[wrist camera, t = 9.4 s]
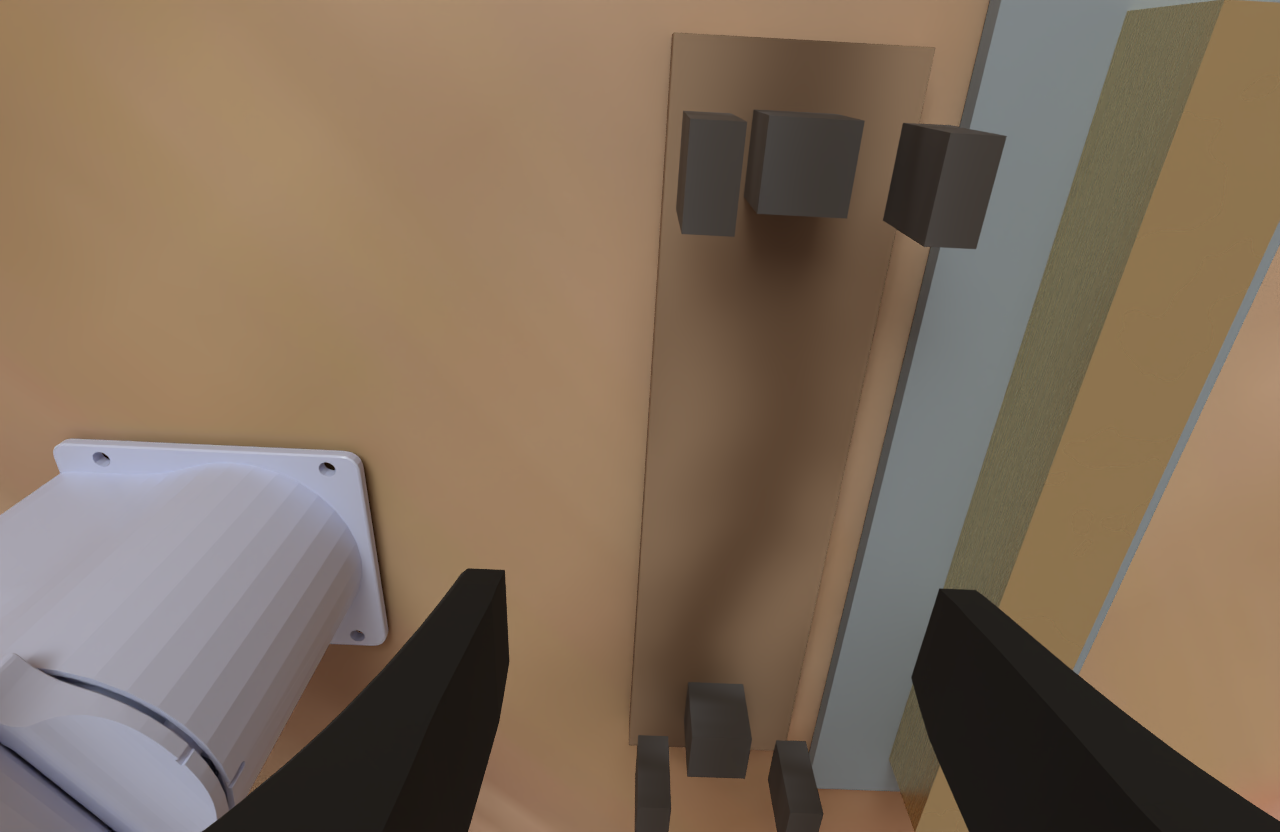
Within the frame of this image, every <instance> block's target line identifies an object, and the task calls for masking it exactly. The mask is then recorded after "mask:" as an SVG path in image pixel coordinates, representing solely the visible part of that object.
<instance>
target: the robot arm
mask: <svg viewBox="0 0 1280 832" xmlns="http://www.w3.org/2000/svg"><path fill="white" fill-rule="evenodd" d="M102 453H104V454H105V455H107V456H108V457H109V459H110V460H109V459H107V458H106V457H104V456H103V454H102ZM53 454H54V458H55V461H56V463H57V466H58V468H59V471H60V474H59V475H57V476H56V477H54V478H53V479H51V480H50V481H48V482H47V483H46V484H44V485H43V486H41V487H40V488H38V489H37V490H36V491H34V492H33V493H31V494H30V495H28V496H27V497H26V498H24V499H23V500H21V501H20V502H18V503H17V504H15V505H14V506H13V507H11V508H10V509H8V510H7V511H5V512H4V513H3V514H1V515H0V832H468V830H469V826H470V823H471V819H472V816H473V812H474V809H475V805H476V802H477V798H478V795H479V791H480V788H481V784H482V781H483V777H484V774H485V770H486V767H487V763H488V760H489V756H490V753H491V749H492V745H493V742H494V738H495V735H496V731H497V727H498V724H499V719H500V714H501V708H502V702H503V697H504V691H505V685H506V678H507V672H508V666H509V646H508V626H507V605H506V585H505V570H490V569H467V570H465V571H464V572H463V573H462V574H461V575H460V576H459V578H458V579H457V580H456V582H455V583H454V584H453V586H452V587H451V588H450V590H449V591H448V592H447V594H446V595H445V596H444V597H443V599H442V600H441V601H440V603H439V604H438V605H437V606H436V608H435V609H434V610H433V611H432V613H431V614H430V615H429V616H428V618H427V619H426V620H425V621H424V622H423V624H422V625H421V626H420V627H419V629H418V630H417V631H416V632H415V633H414V634H413V636H412V637H411V638H410V639H409V640H408V641H407V642H406V644H405V645H404V646H403V647H402V648H401V649H400V651H399V652H398V653H397V654H396V655H395V656H394V657H393V659H392V660H391V661H390V662H389V663H388V664H387V665H386V666H385V668H384V669H383V670H382V671H381V672H380V673H379V674H378V675H377V676H376V677H375V678H374V679H373V680H372V681H371V682H370V683H369V684H368V685H367V687H366V688H365V689H364V690H363V691H362V692H361V693H360V694H359V695H358V696H357V697H356V698H355V699H354V700H353V701H352V702H351V703H350V704H349V705H348V706H347V707H346V708H345V709H344V710H343V711H342V712H341V713H340V714H339V715H338V716H337V717H336V718H335V719H334V720H333V721H332V722H331V723H330V724H329V725H328V726H327V727H326V728H325V729H324V730H323V731H322V732H321V733H319V734H318V735H317V736H316V737H315V738H314V739H313V740H312V741H311V742H310V743H309V744H307V745H306V746H305V747H304V748H303V749H302V750H301V751H300V752H299V753H297V754H296V755H295V756H294V757H293V758H292V759H291V760H290V761H289V762H287V763H286V764H285V765H284V766H283V767H282V768H280V769H279V770H278V771H277V772H276V773H274V774H273V775H272V776H271V777H270V778H268V779H267V780H266V781H265V782H264V783H262V784H261V785H260V786H259V787H258V788H256V789H255V790H254V791H253V792H251V793H250V794H249V795H248V793H249V791H250V789H251V788H252V786H253V784H254V782H255V780H256V778H257V776H258V775H259V773H260V771H261V769H262V767H263V765H264V764H265V762H266V760H267V758H268V756H269V754H270V753H271V751H272V749H273V747H274V745H275V743H276V742H277V740H278V738H279V736H280V734H281V732H282V731H283V729H284V727H285V725H286V723H287V721H288V720H289V718H290V716H291V714H292V712H293V710H294V708H295V707H296V705H297V703H298V701H299V699H300V697H301V696H302V694H303V692H304V690H305V688H306V686H307V685H308V683H309V681H310V679H311V677H312V675H313V674H314V672H315V670H316V668H317V666H318V664H319V663H320V661H321V659H322V657H323V655H324V653H325V651H326V650H327V648H328V646H329V644H344V645H369V646H375V645H380V644H382V643H383V642H384V641H385V639H386V637H387V635H388V624H387V617H386V611H385V604H384V598H383V591H382V585H381V578H380V572H379V565H378V559H377V552H376V546H375V539H374V532H373V526H372V519H371V513H370V506H369V500H368V493H367V487H366V480H365V474H364V467H363V463H362V461H361V459H360V458H359V457H358V456H357V455H355V454H354V453H352V452H348V451H335V450H313V449H291V448H269V447H247V446H225V445H203V444H180V443H158V442H136V441H114V440H92V439H66V440H65V441H63V442H61V443H60V444H58V445H57V446H55V448H54V450H53ZM324 462H327V463H331V464H332V465H333V466H334V467H335V469H336V470H331V469H328V468H327V467H326V466H325V464H324ZM356 630H358V631H361V632H362V633H359V632H357V631H356ZM911 679H912V683H913V686H914V690H915V693H916V697H917V701H918V704H919V708H920V712H921V715H922V718H923V721H924V724H925V728H926V731H927V734H928V737H929V740H930V742H931V745H932V747H933V750H934V752H935V755H936V757H937V759H938V762H939V764H940V766H941V769H942V771H943V773H944V776H945V778H946V780H947V783H948V785H949V787H950V790H951V792H952V794H953V796H954V799H955V801H956V803H957V806H958V808H959V810H960V812H961V815H962V817H963V819H964V822H965V824H966V826H967V828H968V831H969V832H1280V821H1278V820H1277V819H1275V818H1274V817H1272V816H1270V815H1269V814H1267V813H1266V812H1264V811H1263V810H1261V809H1260V808H1258V807H1256V806H1255V805H1253V804H1252V803H1250V802H1249V801H1247V800H1246V799H1244V798H1243V797H1242V796H1240V795H1239V794H1237V793H1236V792H1234V791H1233V790H1231V789H1230V788H1228V787H1227V786H1225V785H1224V784H1222V783H1221V782H1219V781H1218V780H1216V779H1215V778H1214V777H1212V776H1211V775H1209V774H1208V773H1206V772H1205V771H1203V770H1202V769H1200V768H1199V767H1197V766H1196V765H1195V764H1193V763H1192V762H1190V761H1189V760H1188V759H1186V758H1185V757H1183V756H1182V755H1181V754H1179V753H1178V752H1176V751H1175V750H1174V749H1172V748H1171V747H1170V746H1168V745H1167V744H1166V743H1164V742H1163V741H1162V740H1160V739H1159V738H1158V737H1156V736H1155V735H1154V734H1152V733H1151V732H1150V731H1148V730H1147V729H1146V728H1144V727H1143V726H1142V725H1141V724H1139V723H1138V722H1137V721H1135V720H1134V719H1133V718H1131V717H1130V716H1129V715H1127V714H1126V713H1125V712H1124V711H1122V710H1121V709H1120V708H1118V707H1117V706H1116V705H1115V704H1113V703H1112V702H1111V701H1110V700H1108V699H1107V698H1106V697H1105V696H1103V695H1102V694H1101V693H1100V692H1098V691H1097V690H1096V689H1095V688H1093V687H1092V686H1091V685H1090V684H1089V683H1087V682H1086V681H1085V680H1084V679H1082V678H1081V677H1080V676H1079V675H1078V674H1076V673H1075V672H1074V671H1073V670H1072V669H1070V668H1069V667H1068V666H1067V665H1066V664H1064V663H1063V662H1062V661H1061V660H1060V659H1058V658H1057V657H1056V656H1055V655H1054V654H1052V653H1051V652H1050V651H1049V650H1048V649H1047V648H1045V647H1044V646H1043V645H1042V644H1041V643H1039V642H1038V641H1037V640H1036V639H1035V638H1034V637H1032V636H1031V635H1030V634H1029V633H1028V632H1026V631H1025V630H1024V629H1023V628H1022V627H1021V626H1019V625H1018V624H1017V623H1016V622H1015V621H1014V620H1012V619H1011V618H1010V617H1009V616H1008V615H1006V614H1005V613H1004V612H1003V611H1002V610H1000V609H999V608H998V607H997V606H996V605H994V604H993V603H992V602H991V601H989V600H988V599H987V598H986V597H984V596H983V595H982V594H980V593H979V592H978V591H977V590H965V589H942V588H939V591H938V594H937V597H936V601H935V604H934V607H933V610H932V613H931V616H930V620H929V623H928V626H927V629H926V632H925V635H924V638H923V642H922V645H921V648H920V651H919V654H918V657H917V661H916V664H915V667H914V670H913V673H912V676H911ZM247 795H248V796H247Z"/></svg>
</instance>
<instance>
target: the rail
mask: <svg viewBox="0 0 1280 832" xmlns="http://www.w3.org/2000/svg"><path fill="white" fill-rule="evenodd" d="M1279 221H1280V3H1278V2H1261V1H1244V0H1216V1H1207V2H1198V3H1190V4H1181V5H1173V6H1164V7H1156V8H1147V9H1139V10H1130V11H1127V13H1126V16H1125V19H1124V22H1123V25H1122V28H1121V32H1120V35H1119V38H1118V41H1117V44H1116V47H1115V50H1114V54H1113V57H1112V60H1111V63H1110V66H1109V69H1108V72H1107V76H1106V79H1105V82H1104V85H1103V88H1102V91H1101V94H1100V97H1099V101H1098V104H1097V107H1096V110H1095V113H1094V116H1093V119H1092V123H1091V126H1090V129H1089V132H1088V135H1087V138H1086V141H1085V145H1084V148H1083V151H1082V154H1081V157H1080V160H1079V163H1078V166H1077V170H1076V173H1075V176H1074V179H1073V182H1072V185H1071V188H1070V192H1069V195H1068V198H1067V201H1066V204H1065V207H1064V210H1063V214H1062V217H1061V220H1060V223H1059V226H1058V229H1057V232H1056V236H1055V239H1054V242H1053V245H1052V248H1051V251H1050V254H1049V257H1048V261H1047V264H1046V267H1045V270H1044V273H1043V276H1042V279H1041V283H1040V286H1039V289H1038V292H1037V295H1036V298H1035V301H1034V305H1033V308H1032V311H1031V314H1030V317H1029V320H1028V323H1027V326H1026V330H1025V333H1024V336H1023V339H1022V342H1021V345H1020V348H1019V352H1018V355H1017V358H1016V361H1015V364H1014V367H1013V370H1012V374H1011V377H1010V380H1009V383H1008V386H1007V389H1006V392H1005V396H1004V399H1003V402H1002V405H1001V408H1000V411H999V414H998V417H997V421H996V424H995V427H994V430H993V433H992V436H991V439H990V443H989V446H988V449H987V452H986V455H985V458H984V461H983V465H982V468H981V471H980V474H979V477H978V480H977V483H976V486H975V490H974V493H973V496H972V499H971V502H970V505H969V508H968V512H967V515H966V518H965V521H964V524H963V527H962V530H961V534H960V537H959V540H958V543H957V546H956V549H955V552H954V555H953V559H952V562H951V565H950V568H949V571H948V574H947V577H946V581H945V584H944V587H943V589H965V590H977V591H978V592H979V593H980V594H982V595H983V596H984V597H986V598H987V599H988V600H989V601H991V602H992V603H993V604H994V605H996V606H997V607H998V608H999V609H1000V610H1002V611H1003V612H1004V613H1005V614H1006V615H1008V616H1009V617H1010V618H1011V619H1012V620H1014V621H1015V622H1016V623H1017V624H1018V625H1019V626H1021V627H1022V628H1023V629H1024V630H1025V631H1026V632H1028V633H1029V634H1030V635H1031V636H1032V637H1034V638H1035V639H1036V640H1037V641H1038V642H1039V643H1041V644H1042V645H1043V646H1044V647H1045V648H1047V649H1048V650H1049V651H1050V652H1051V653H1052V654H1054V655H1055V656H1056V657H1057V658H1058V659H1060V660H1061V661H1062V662H1063V663H1064V664H1066V665H1067V666H1068V667H1069V668H1070V669H1072V670H1073V669H1074V666H1075V664H1076V662H1077V660H1078V658H1079V656H1080V653H1081V651H1082V649H1083V647H1084V645H1085V643H1086V640H1087V638H1088V636H1089V634H1090V632H1091V630H1092V627H1093V625H1094V623H1095V621H1096V619H1097V616H1098V614H1099V612H1100V610H1101V608H1102V606H1103V603H1104V601H1105V599H1106V597H1107V595H1108V593H1109V590H1110V588H1111V586H1112V584H1113V582H1114V580H1115V577H1116V575H1117V573H1118V571H1119V569H1120V566H1121V564H1122V562H1123V560H1124V558H1125V556H1126V553H1127V551H1128V549H1129V547H1130V545H1131V543H1132V540H1133V538H1134V536H1135V534H1136V532H1137V530H1138V527H1139V525H1140V523H1141V521H1142V519H1143V516H1144V514H1145V512H1146V510H1147V508H1148V506H1149V503H1150V501H1151V499H1152V497H1153V495H1154V493H1155V490H1156V488H1157V486H1158V484H1159V482H1160V480H1161V477H1162V475H1163V473H1164V471H1165V469H1166V466H1167V464H1168V462H1169V460H1170V458H1171V456H1172V453H1173V451H1174V449H1175V447H1176V445H1177V443H1178V440H1179V438H1180V436H1181V434H1182V432H1183V430H1184V427H1185V425H1186V423H1187V421H1188V419H1189V416H1190V414H1191V412H1192V410H1193V408H1194V406H1195V403H1196V401H1197V399H1198V397H1199V395H1200V393H1201V390H1202V388H1203V386H1204V384H1205V382H1206V380H1207V377H1208V375H1209V373H1210V371H1211V369H1212V366H1213V364H1214V362H1215V360H1216V358H1217V356H1218V353H1219V351H1220V349H1221V347H1222V345H1223V343H1224V340H1225V338H1226V336H1227V334H1228V332H1229V330H1230V327H1231V325H1232V323H1233V321H1234V319H1235V316H1236V314H1237V312H1238V310H1239V308H1240V306H1241V303H1242V301H1243V299H1244V297H1245V295H1246V293H1247V290H1248V288H1249V286H1250V284H1251V282H1252V280H1253V277H1254V275H1255V273H1256V271H1257V269H1258V266H1259V264H1260V262H1261V260H1262V258H1263V256H1264V253H1265V251H1266V249H1267V247H1268V245H1269V243H1270V240H1271V238H1272V236H1273V234H1274V232H1275V230H1276V227H1277V225H1278V223H1279ZM889 761H890V764H891V767H892V769H893V772H894V775H895V778H896V781H897V784H898V786H899V789H900V792H901V795H902V798H903V800H904V803H905V806H906V809H907V812H908V814H909V817H910V820H911V823H912V826H913V829H914V831H915V832H969V831H968V828H967V826H966V824H965V822H964V819H963V817H962V815H961V812H960V810H959V808H958V806H957V803H956V801H955V799H954V796H953V794H952V792H951V790H950V787H949V785H948V783H947V780H946V778H945V776H944V773H943V771H942V769H941V766H940V764H939V762H938V759H937V757H936V755H935V752H934V750H933V747H932V745H931V742H930V740H929V737H928V734H927V731H926V728H925V724H924V721H923V718H922V715H921V712H920V708H919V704H918V701H917V697H916V693H915V690H914V686H913V684H912V687H911V690H910V694H909V697H908V700H907V703H906V706H905V709H904V712H903V715H902V719H901V722H900V725H899V728H898V731H897V734H896V737H895V741H894V744H893V747H892V750H891V753H890V756H889Z"/></svg>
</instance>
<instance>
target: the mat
mask: <svg viewBox="0 0 1280 832" xmlns="http://www.w3.org/2000/svg"><path fill="white" fill-rule="evenodd" d="M1207 1H1216V0H990V3H989V7H988V11H987V15H986V20H985V24H984V28H983V32H982V36H981V40H980V45H979V49H978V53H977V57H976V61H975V65H974V70H973V74H972V78H971V82H970V86H969V90H968V94H967V99H966V103H965V107H964V111H963V115H962V119H961V124H960V127H962V128H967V129H972V130H978V131H983V132H988V133H994V134H999V135H1004V136H1007V137H1006V141H1005V145H1004V148H1003V152H1002V156H1001V159H1000V163H999V167H998V170H997V174H996V178H995V182H994V185H993V189H992V193H991V196H990V200H989V204H988V207H987V211H986V215H985V218H984V222H983V226H982V230H981V233H980V237H979V241H978V244H977V248H976V249H961V248H941V247H931V248H930V252H929V257H928V261H927V265H926V269H925V273H924V277H923V282H922V286H921V290H920V294H919V298H918V302H917V307H916V311H915V315H914V319H913V323H912V327H911V331H910V336H909V340H908V344H907V348H906V352H905V356H904V361H903V365H902V369H901V373H900V377H899V381H898V386H897V390H896V394H895V398H894V402H893V406H892V410H891V415H890V419H889V423H888V427H887V431H886V435H885V440H884V444H883V448H882V452H881V456H880V460H879V465H878V469H877V473H876V477H875V481H874V485H873V489H872V494H871V498H870V502H869V506H868V510H867V514H866V519H865V523H864V527H863V531H862V535H861V539H860V544H859V548H858V552H857V556H856V560H855V564H854V568H853V573H852V577H851V581H850V585H849V589H848V593H847V598H846V602H845V606H844V610H843V614H842V618H841V623H840V627H839V631H838V635H837V639H836V643H835V647H834V652H833V656H832V660H831V664H830V668H829V672H828V677H827V681H826V685H825V689H824V693H823V697H822V702H821V706H820V710H819V714H818V718H817V722H816V726H815V731H814V735H813V739H812V743H811V747H810V751H809V757H810V761H811V765H812V769H813V773H814V777H815V781H816V785H817V788H820V789H847V790H875V791H900V789H899V786H898V784H897V781H896V778H895V775H894V772H893V769H892V767H891V764H890V761H889V756H890V753H891V750H892V747H893V744H894V741H895V737H896V734H897V731H898V728H899V725H900V722H901V719H902V715H903V712H904V709H905V706H906V703H907V700H908V697H909V694H910V690H911V687H912V684H913V683H912V679H911V676H912V673H913V670H914V667H915V664H916V661H917V657H918V654H919V651H920V648H921V645H922V642H923V638H924V635H925V632H926V629H927V626H928V623H929V620H930V616H931V613H932V610H933V607H934V604H935V601H936V597H937V594H938V591H939V588H942V589H943V587H944V584H945V581H946V577H947V574H948V571H949V568H950V565H951V562H952V559H953V555H954V552H955V549H956V546H957V543H958V540H959V537H960V534H961V530H962V527H963V524H964V521H965V518H966V515H967V512H968V508H969V505H970V502H971V499H972V496H973V493H974V490H975V486H976V483H977V480H978V477H979V474H980V471H981V468H982V465H983V461H984V458H985V455H986V452H987V449H988V446H989V443H990V439H991V436H992V433H993V430H994V427H995V424H996V421H997V417H998V414H999V411H1000V408H1001V405H1002V402H1003V399H1004V396H1005V392H1006V389H1007V386H1008V383H1009V380H1010V377H1011V374H1012V370H1013V367H1014V364H1015V361H1016V358H1017V355H1018V352H1019V348H1020V345H1021V342H1022V339H1023V336H1024V333H1025V330H1026V326H1027V323H1028V320H1029V317H1030V314H1031V311H1032V308H1033V305H1034V301H1035V298H1036V295H1037V292H1038V289H1039V286H1040V283H1041V279H1042V276H1043V273H1044V270H1045V267H1046V264H1047V261H1048V257H1049V254H1050V251H1051V248H1052V245H1053V242H1054V239H1055V236H1056V232H1057V229H1058V226H1059V223H1060V220H1061V217H1062V214H1063V210H1064V207H1065V204H1066V201H1067V198H1068V195H1069V192H1070V188H1071V185H1072V182H1073V179H1074V176H1075V173H1076V170H1077V166H1078V163H1079V160H1080V157H1081V154H1082V151H1083V148H1084V145H1085V141H1086V138H1087V135H1088V132H1089V129H1090V126H1091V123H1092V119H1093V116H1094V113H1095V110H1096V107H1097V104H1098V101H1099V97H1100V94H1101V91H1102V88H1103V85H1104V82H1105V79H1106V76H1107V72H1108V69H1109V66H1110V63H1111V60H1112V57H1113V54H1114V50H1115V47H1116V44H1117V41H1118V38H1119V35H1120V32H1121V28H1122V25H1123V22H1124V19H1125V16H1126V13H1127V11H1130V10H1139V9H1147V8H1156V7H1164V6H1173V5H1181V4H1190V3H1198V2H1207ZM1244 1H1261V2H1278V3H1280V0H1244ZM1279 245H1280V221H1279V223H1278V225H1277V227H1276V230H1275V232H1274V234H1273V236H1272V238H1271V240H1270V243H1269V245H1268V247H1267V249H1266V251H1265V253H1264V256H1263V258H1262V260H1261V262H1260V264H1259V266H1258V269H1257V271H1256V273H1255V275H1254V277H1253V280H1252V282H1251V284H1250V286H1249V288H1248V290H1247V293H1246V295H1245V297H1244V299H1243V301H1242V303H1241V306H1240V308H1239V310H1238V312H1237V314H1236V316H1235V319H1234V321H1233V323H1232V325H1231V327H1230V330H1229V332H1228V334H1227V336H1226V338H1225V340H1224V343H1223V345H1222V347H1221V349H1220V351H1219V353H1218V356H1217V358H1216V360H1215V362H1214V364H1213V366H1212V369H1211V371H1210V373H1209V375H1208V377H1207V380H1206V382H1205V384H1204V386H1203V388H1202V390H1201V393H1200V395H1199V397H1198V399H1197V401H1196V403H1195V406H1194V408H1193V410H1192V412H1191V414H1190V416H1189V419H1188V421H1187V423H1186V425H1185V427H1184V430H1183V432H1182V434H1181V436H1180V438H1179V440H1178V443H1177V445H1176V447H1175V449H1174V451H1173V453H1172V456H1171V458H1170V460H1169V462H1168V464H1167V466H1166V469H1165V471H1164V473H1163V475H1162V477H1161V480H1160V482H1159V484H1158V486H1157V488H1156V490H1155V493H1154V495H1153V497H1152V499H1151V501H1150V503H1149V506H1148V508H1147V510H1146V512H1145V514H1144V516H1143V519H1142V521H1141V523H1140V525H1139V527H1138V530H1137V532H1136V534H1135V536H1134V538H1133V540H1132V543H1131V545H1130V547H1129V549H1128V551H1127V553H1126V556H1125V558H1124V560H1123V562H1122V564H1121V566H1120V569H1119V571H1118V573H1117V575H1116V577H1115V580H1114V582H1113V584H1112V586H1111V588H1110V590H1109V593H1108V595H1107V597H1106V599H1105V601H1104V603H1103V606H1102V608H1101V610H1100V612H1099V614H1098V616H1097V619H1096V621H1095V623H1094V625H1093V627H1092V630H1091V632H1090V634H1089V636H1088V638H1087V640H1086V643H1085V645H1084V647H1083V649H1082V651H1081V653H1080V656H1079V658H1078V660H1077V662H1076V664H1075V666H1074V669H1073V671H1074V672H1075V673H1076V674H1079V672H1080V670H1081V668H1082V666H1083V663H1084V661H1085V659H1086V657H1087V655H1088V653H1089V651H1090V649H1091V646H1092V644H1093V642H1094V640H1095V638H1096V636H1097V634H1098V631H1099V629H1100V627H1101V625H1102V623H1103V621H1104V619H1105V616H1106V614H1107V612H1108V610H1109V608H1110V606H1111V604H1112V602H1113V599H1114V597H1115V595H1116V593H1117V591H1118V589H1119V587H1120V584H1121V582H1122V580H1123V578H1124V576H1125V574H1126V572H1127V570H1128V567H1129V565H1130V563H1131V561H1132V559H1133V557H1134V555H1135V552H1136V550H1137V548H1138V546H1139V544H1140V542H1141V540H1142V537H1143V535H1144V533H1145V531H1146V529H1147V527H1148V525H1149V523H1150V520H1151V518H1152V516H1153V514H1154V512H1155V510H1156V508H1157V505H1158V503H1159V501H1160V499H1161V497H1162V495H1163V493H1164V490H1165V488H1166V486H1167V484H1168V482H1169V480H1170V478H1171V476H1172V473H1173V471H1174V469H1175V467H1176V465H1177V463H1178V461H1179V458H1180V456H1181V454H1182V452H1183V450H1184V448H1185V446H1186V443H1187V441H1188V439H1189V437H1190V435H1191V433H1192V431H1193V429H1194V426H1195V424H1196V422H1197V420H1198V418H1199V416H1200V414H1201V411H1202V409H1203V407H1204V405H1205V403H1206V401H1207V399H1208V397H1209V394H1210V392H1211V390H1212V388H1213V386H1214V384H1215V382H1216V379H1217V377H1218V375H1219V373H1220V371H1221V369H1222V367H1223V364H1224V362H1225V360H1226V358H1227V356H1228V354H1229V352H1230V350H1231V347H1232V345H1233V343H1234V341H1235V339H1236V337H1237V335H1238V332H1239V330H1240V328H1241V326H1242V324H1243V322H1244V320H1245V317H1246V315H1247V313H1248V311H1249V309H1250V307H1251V305H1252V303H1253V300H1254V298H1255V296H1256V294H1257V292H1258V290H1259V288H1260V285H1261V283H1262V281H1263V279H1264V277H1265V275H1266V273H1267V270H1268V268H1269V266H1270V264H1271V262H1272V260H1273V258H1274V256H1275V253H1276V251H1277V249H1278V247H1279Z"/></svg>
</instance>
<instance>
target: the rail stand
mask: <svg viewBox="0 0 1280 832" xmlns="http://www.w3.org/2000/svg"><path fill="white" fill-rule="evenodd" d="M934 53H935V47H918V46H900V45H883V44H865V43H848V42H831V41H813V40H796V39H778V38H761V37H743V36H726V35H708V34H691V33H673V34H672V46H671V62H670V78H669V94H668V110H667V126H666V142H665V158H664V174H663V190H662V206H661V222H660V238H659V254H658V270H657V286H656V302H655V318H654V334H653V350H652V366H651V382H650V398H649V414H648V430H647V446H646V462H645V478H644V494H643V510H642V526H641V542H640V558H639V574H638V590H637V606H636V622H635V638H634V654H633V670H632V686H631V702H630V718H629V745H637V759H636V773H635V832H668V831H669V822H670V813H671V796H670V769H669V747H686V763H687V776H688V777H716V778H743V779H745V776H746V770H747V765H748V759H749V754H750V750H772V751H774V753H773V757H772V762H771V767H770V772H769V777H768V782H769V788H770V794H771V799H772V805H773V811H774V817H775V822H776V828H777V832H819V828H820V825H821V821H822V817H823V810H822V806H821V802H820V798H819V794H818V790H817V785H816V781H815V777H814V773H813V769H812V765H811V761H810V757H809V752H808V748H807V744H806V741H786V739H787V735H788V730H789V726H790V721H791V716H792V712H793V707H794V702H795V698H796V693H797V688H798V684H799V679H800V674H801V670H802V665H803V661H804V656H805V651H806V647H807V642H808V637H809V633H810V628H811V623H812V619H813V614H814V609H815V605H816V600H817V596H818V591H819V586H820V582H821V577H822V572H823V568H824V563H825V558H826V554H827V549H828V545H829V540H830V535H831V531H832V526H833V521H834V517H835V512H836V507H837V503H838V498H839V493H840V489H841V484H842V480H843V475H844V470H845V466H846V461H847V456H848V452H849V447H850V442H851V438H852V433H853V428H854V424H855V419H856V415H857V410H858V405H859V401H860V396H861V391H862V387H863V382H864V377H865V373H866V368H867V364H868V359H869V354H870V350H871V345H872V340H873V336H874V331H875V326H876V322H877V317H878V312H879V308H880V303H881V299H882V294H883V289H884V285H885V280H886V275H887V271H888V266H889V261H890V257H891V252H892V248H893V243H894V238H895V234H896V229H897V230H899V231H900V232H902V233H903V234H905V235H906V236H908V237H910V238H911V239H913V240H914V241H916V242H917V243H919V244H921V245H922V246H924V247H941V248H961V249H976V248H977V244H978V241H979V237H980V233H981V230H982V226H983V222H984V218H985V215H986V211H987V207H988V204H989V200H990V196H991V193H992V189H993V185H994V182H995V178H996V174H997V170H998V167H999V163H1000V159H1001V156H1002V152H1003V148H1004V145H1005V141H1006V137H1007V136H1004V135H999V134H994V133H988V132H983V131H978V130H972V129H967V128H962V127H956V126H951V125H934V124H919V122H920V118H921V113H922V108H923V104H924V99H925V94H926V90H927V85H928V80H929V76H930V71H931V67H932V62H933V57H934Z"/></svg>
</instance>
